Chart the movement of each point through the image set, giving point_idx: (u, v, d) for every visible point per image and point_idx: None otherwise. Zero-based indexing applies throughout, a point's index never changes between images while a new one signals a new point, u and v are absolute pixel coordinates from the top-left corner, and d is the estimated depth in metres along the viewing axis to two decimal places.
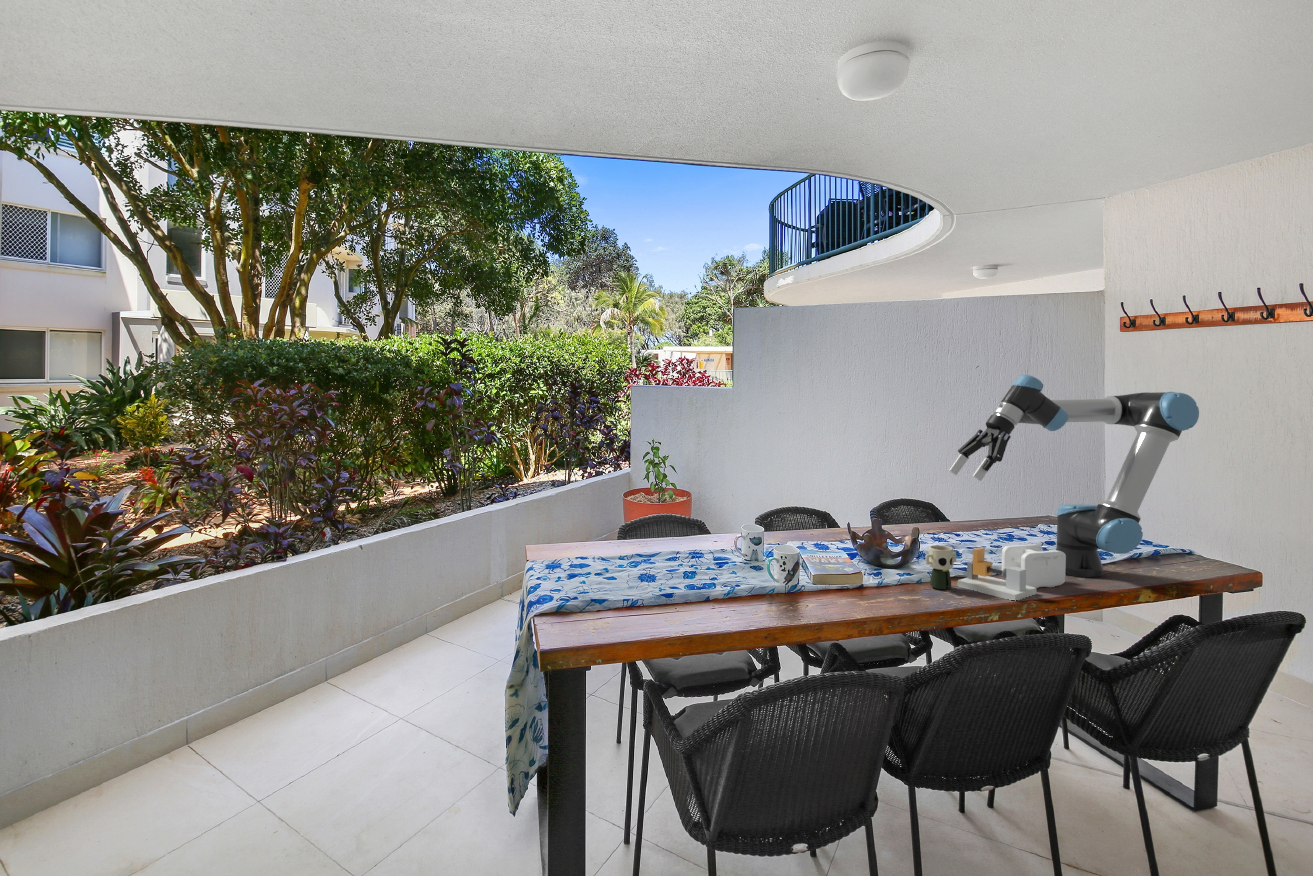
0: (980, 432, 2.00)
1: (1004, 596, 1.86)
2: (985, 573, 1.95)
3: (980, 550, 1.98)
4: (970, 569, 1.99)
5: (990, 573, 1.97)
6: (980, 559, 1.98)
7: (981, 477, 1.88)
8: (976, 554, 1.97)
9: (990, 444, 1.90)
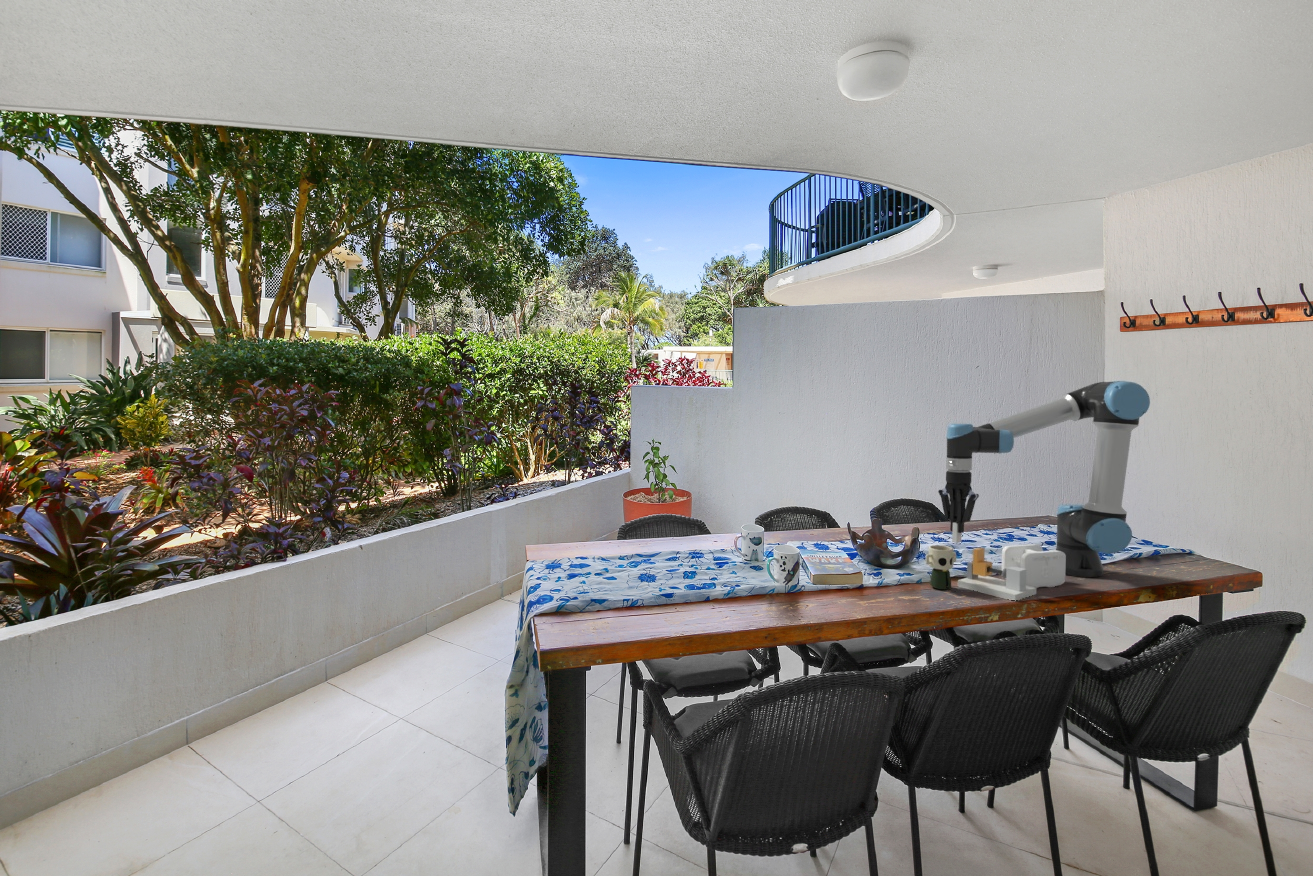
0: (942, 491, 2.07)
1: (1004, 596, 1.86)
2: (985, 573, 1.95)
3: (980, 550, 1.98)
4: (970, 569, 1.99)
5: (990, 573, 1.97)
6: (980, 559, 1.98)
7: (960, 539, 2.04)
8: (976, 554, 1.97)
9: (959, 504, 2.02)
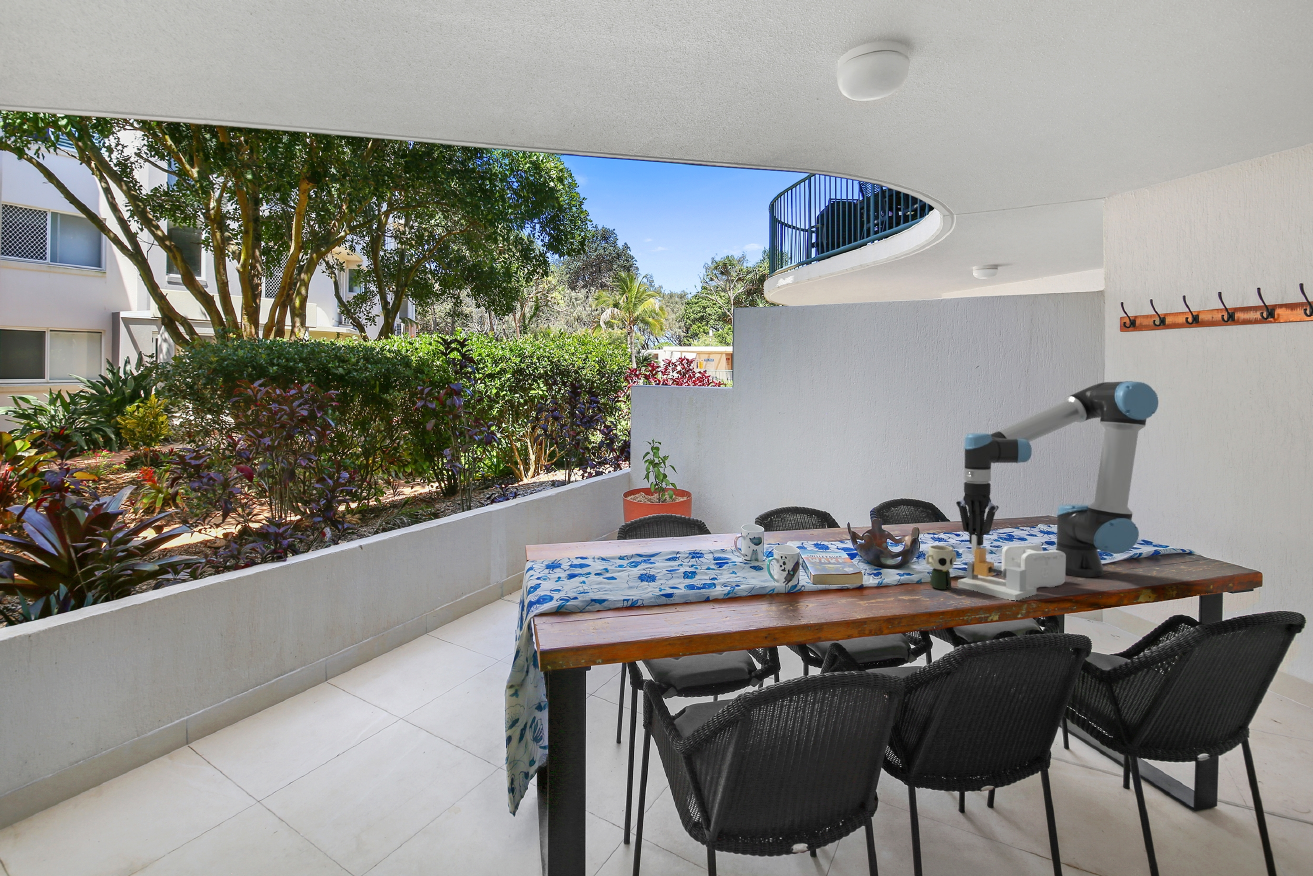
0: (960, 503, 2.02)
1: (1004, 596, 1.86)
2: (987, 573, 1.95)
3: (982, 550, 1.97)
4: (970, 569, 1.99)
5: (992, 573, 1.96)
6: (982, 560, 1.98)
7: None
8: (978, 555, 1.97)
9: (978, 516, 1.97)
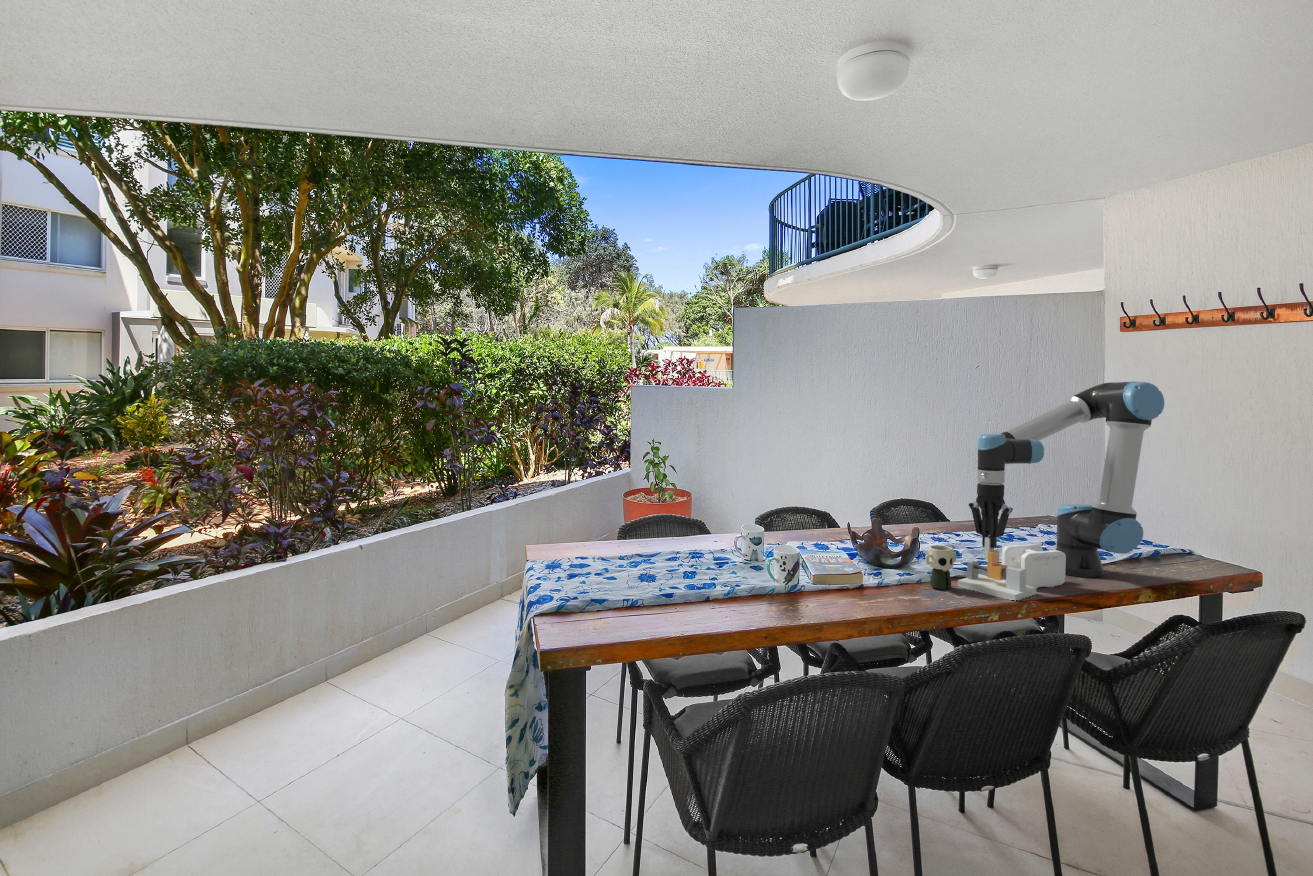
0: (973, 504, 1.99)
1: (1004, 596, 1.86)
2: (1000, 577, 1.91)
3: (995, 553, 1.94)
4: (970, 569, 1.99)
5: None
6: (995, 562, 1.94)
7: None
8: (991, 558, 1.93)
9: (991, 518, 1.93)
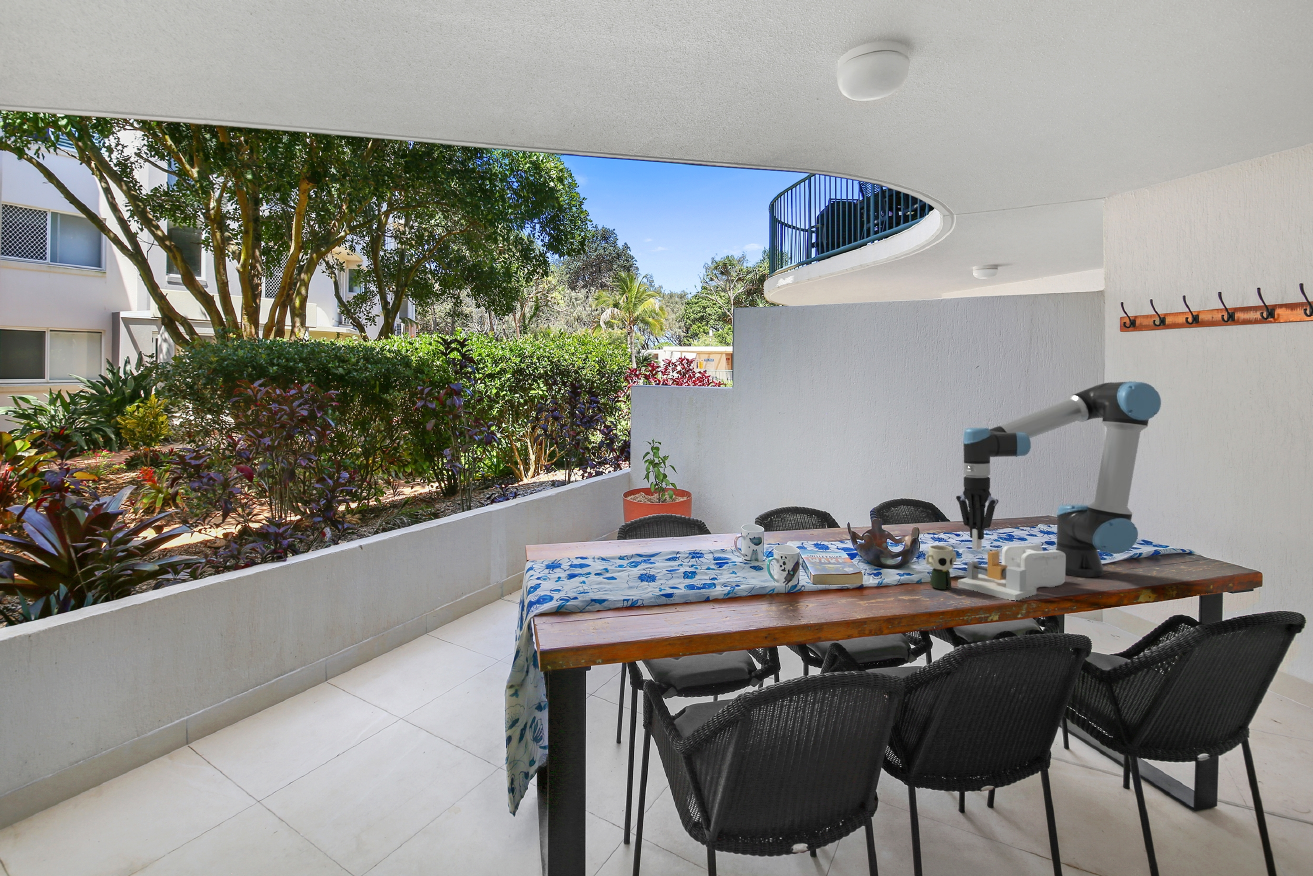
0: (960, 497, 2.03)
1: (1004, 596, 1.86)
2: (1000, 577, 1.91)
3: (995, 553, 1.94)
4: (970, 569, 1.99)
5: None
6: (995, 562, 1.94)
7: (980, 545, 2.00)
8: (991, 558, 1.93)
9: (978, 510, 1.97)
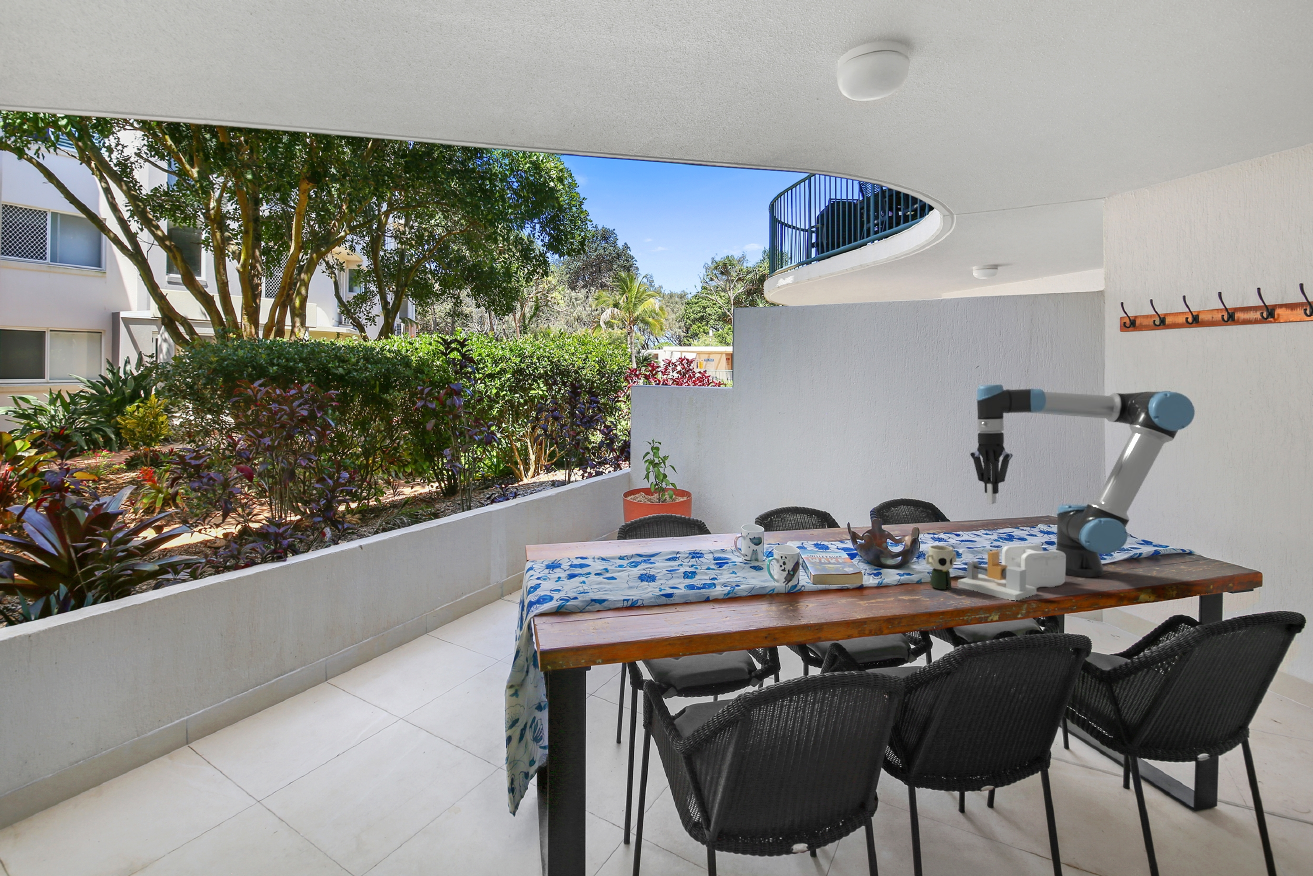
0: (974, 454, 2.08)
1: (1004, 596, 1.86)
2: (1000, 577, 1.91)
3: (995, 553, 1.94)
4: (970, 569, 1.99)
5: None
6: (995, 562, 1.94)
7: (995, 500, 2.05)
8: (991, 558, 1.93)
9: (993, 465, 2.02)
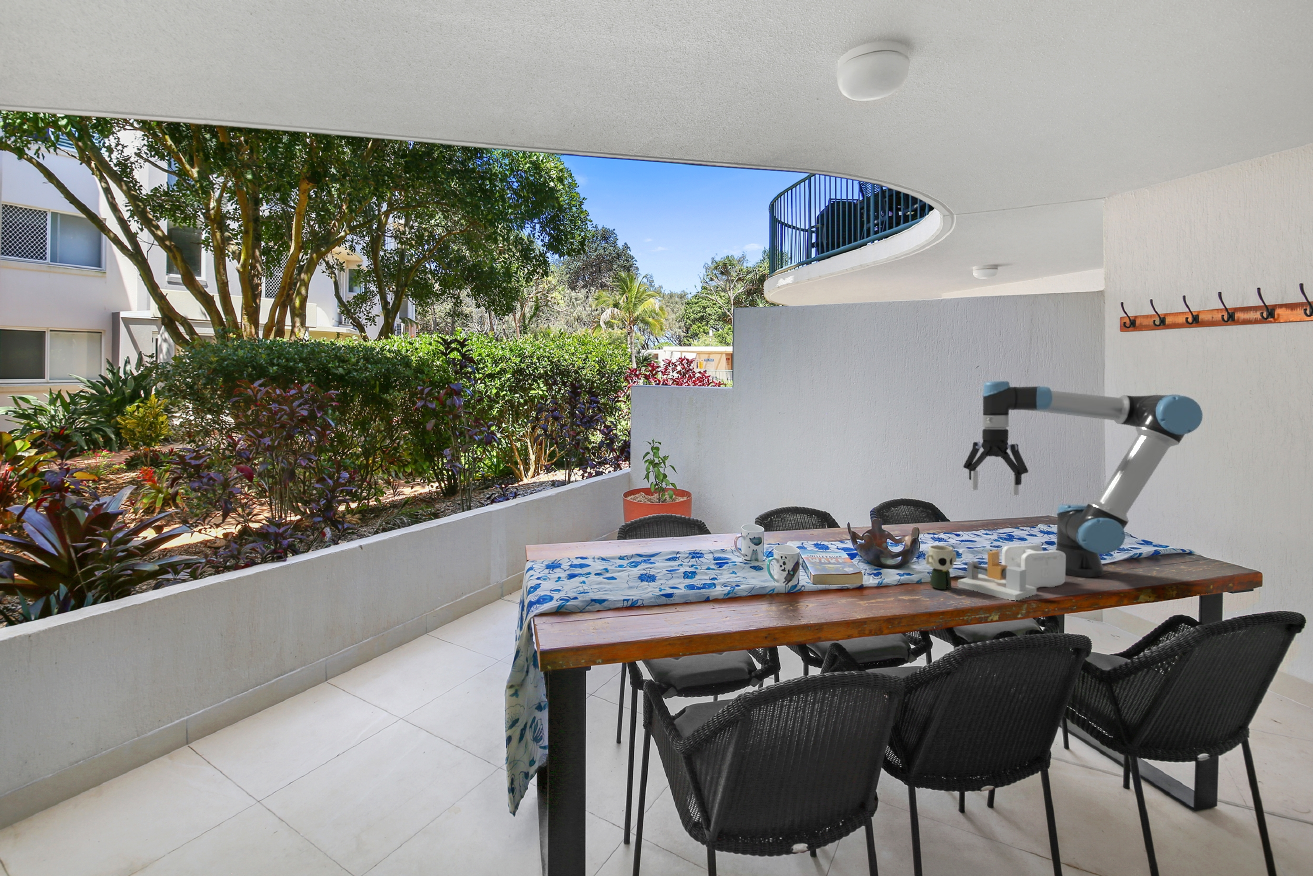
0: (977, 444, 2.09)
1: (1004, 596, 1.86)
2: (1000, 577, 1.91)
3: (995, 553, 1.94)
4: (970, 569, 1.99)
5: None
6: (995, 562, 1.94)
7: (1017, 491, 2.00)
8: (991, 558, 1.93)
9: (1005, 459, 2.01)
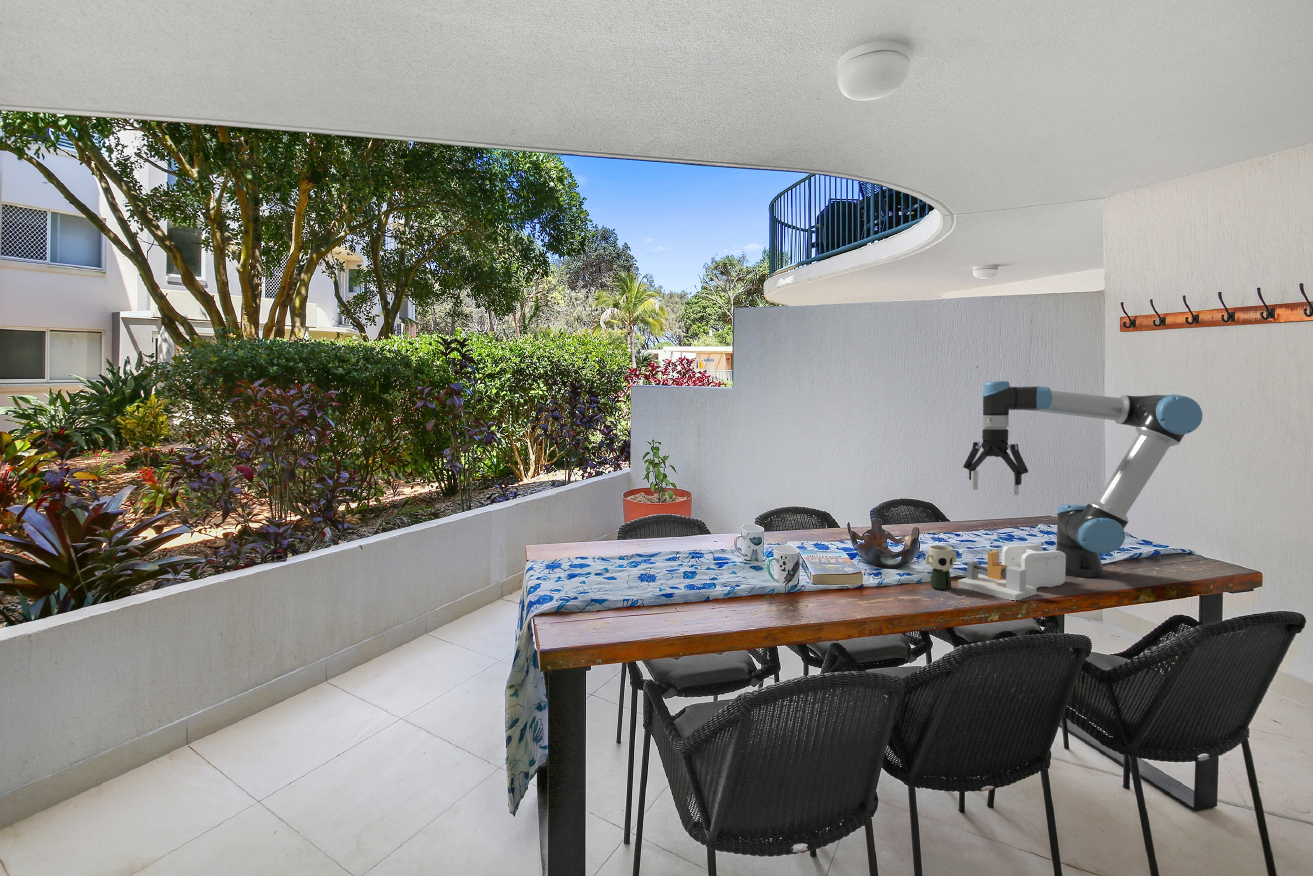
0: (977, 444, 2.09)
1: (1004, 596, 1.86)
2: (1000, 577, 1.91)
3: (995, 553, 1.94)
4: (970, 569, 1.99)
5: None
6: (995, 562, 1.94)
7: (1017, 491, 2.00)
8: (991, 558, 1.93)
9: (1005, 459, 2.01)
